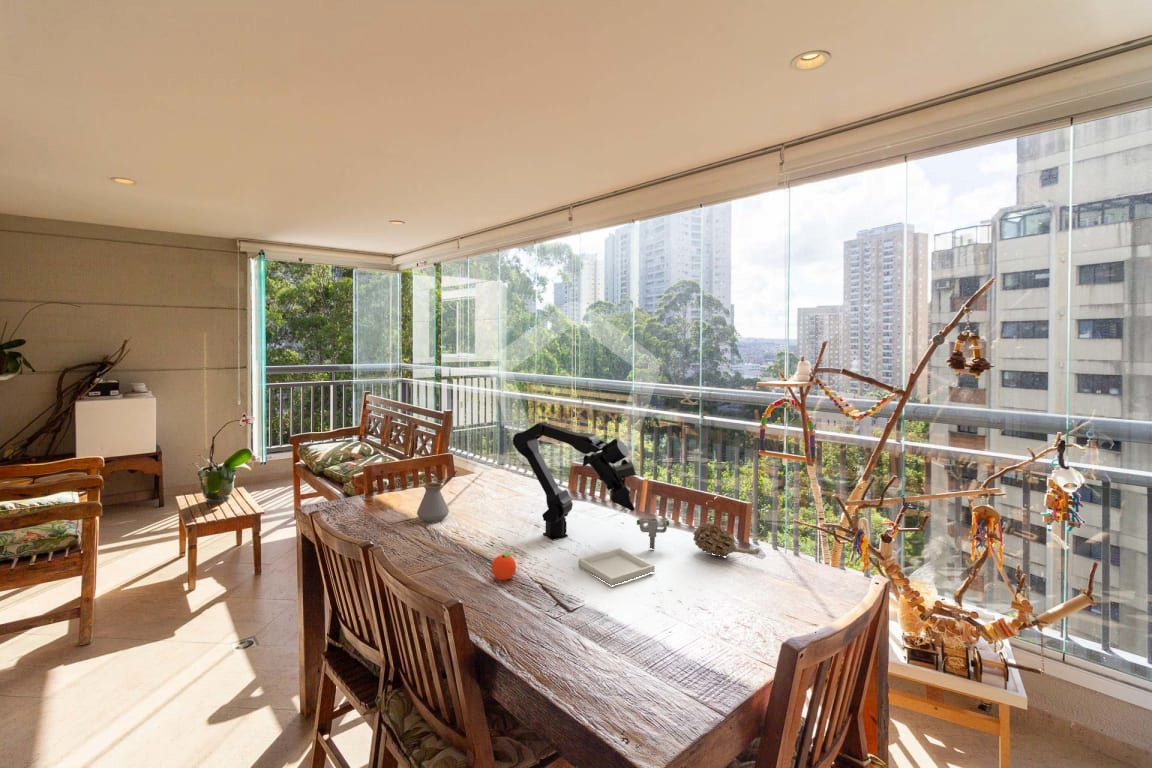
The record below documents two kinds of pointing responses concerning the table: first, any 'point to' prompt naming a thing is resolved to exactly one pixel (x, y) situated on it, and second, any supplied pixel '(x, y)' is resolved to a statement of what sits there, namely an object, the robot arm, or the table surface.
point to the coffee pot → (433, 502)
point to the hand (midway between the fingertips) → (631, 504)
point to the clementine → (503, 567)
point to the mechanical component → (652, 528)
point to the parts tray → (615, 566)
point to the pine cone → (717, 540)
